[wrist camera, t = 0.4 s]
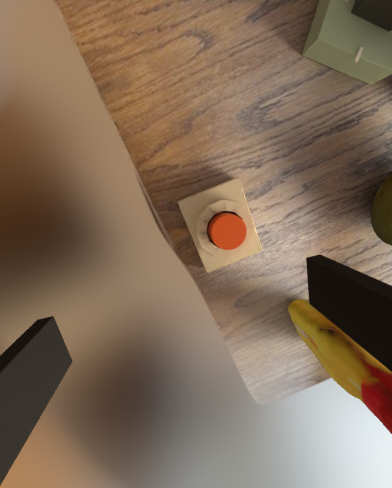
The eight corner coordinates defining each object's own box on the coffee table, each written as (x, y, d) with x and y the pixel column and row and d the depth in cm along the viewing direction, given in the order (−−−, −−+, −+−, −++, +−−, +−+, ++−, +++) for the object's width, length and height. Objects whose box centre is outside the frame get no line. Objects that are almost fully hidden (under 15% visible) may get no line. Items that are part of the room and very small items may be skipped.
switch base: (177, 201, 28) (177, 202, 24) (234, 177, 28) (243, 175, 24) (204, 267, 31) (209, 279, 27) (256, 246, 31) (268, 254, 27)
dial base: (299, 61, 26) (316, 43, 23) (329, -32, 24) (352, -65, 21) (369, 90, 27) (393, 77, 24) (402, 5, 25) (434, -20, 22)
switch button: (203, 220, 25) (206, 223, 23) (235, 207, 25) (240, 208, 23) (215, 250, 26) (218, 255, 24) (245, 238, 26) (251, 241, 24)
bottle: (271, 306, 33) (407, 465, 14) (304, 280, 33) (492, 408, 14) (310, 352, 36) (467, 537, 17) (341, 329, 36) (539, 492, 17)
